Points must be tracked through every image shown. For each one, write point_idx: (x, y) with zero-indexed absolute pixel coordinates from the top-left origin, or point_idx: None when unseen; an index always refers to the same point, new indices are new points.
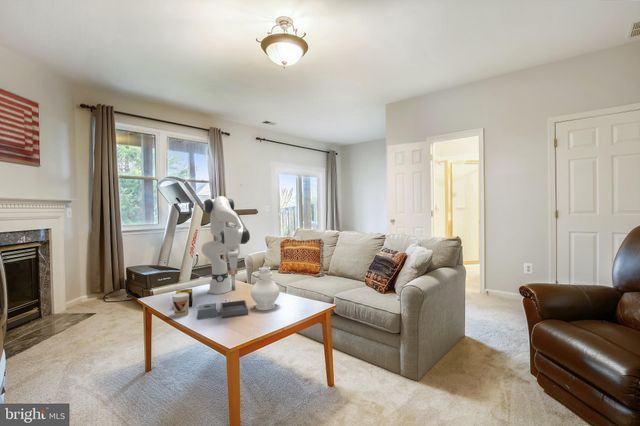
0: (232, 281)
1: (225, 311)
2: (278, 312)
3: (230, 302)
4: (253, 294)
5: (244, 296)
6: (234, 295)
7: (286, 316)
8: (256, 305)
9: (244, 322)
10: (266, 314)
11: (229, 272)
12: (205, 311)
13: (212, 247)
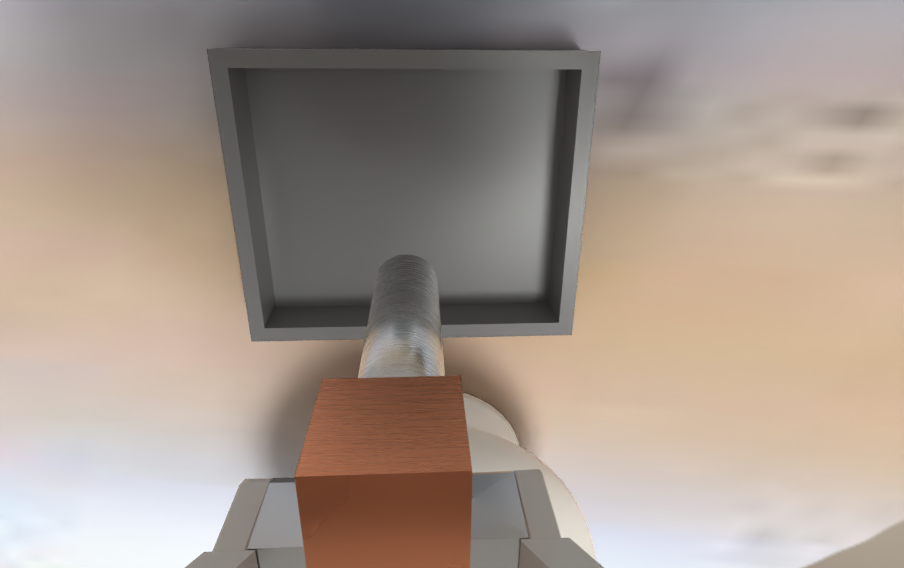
0: (363, 352)
1: (221, 99)
2: None
3: (571, 171)
4: None
5: (864, 318)
6: None
7: (140, 564)
8: (477, 402)
9: (54, 268)
10: (226, 449)
11: (308, 453)
12: None
13: None
